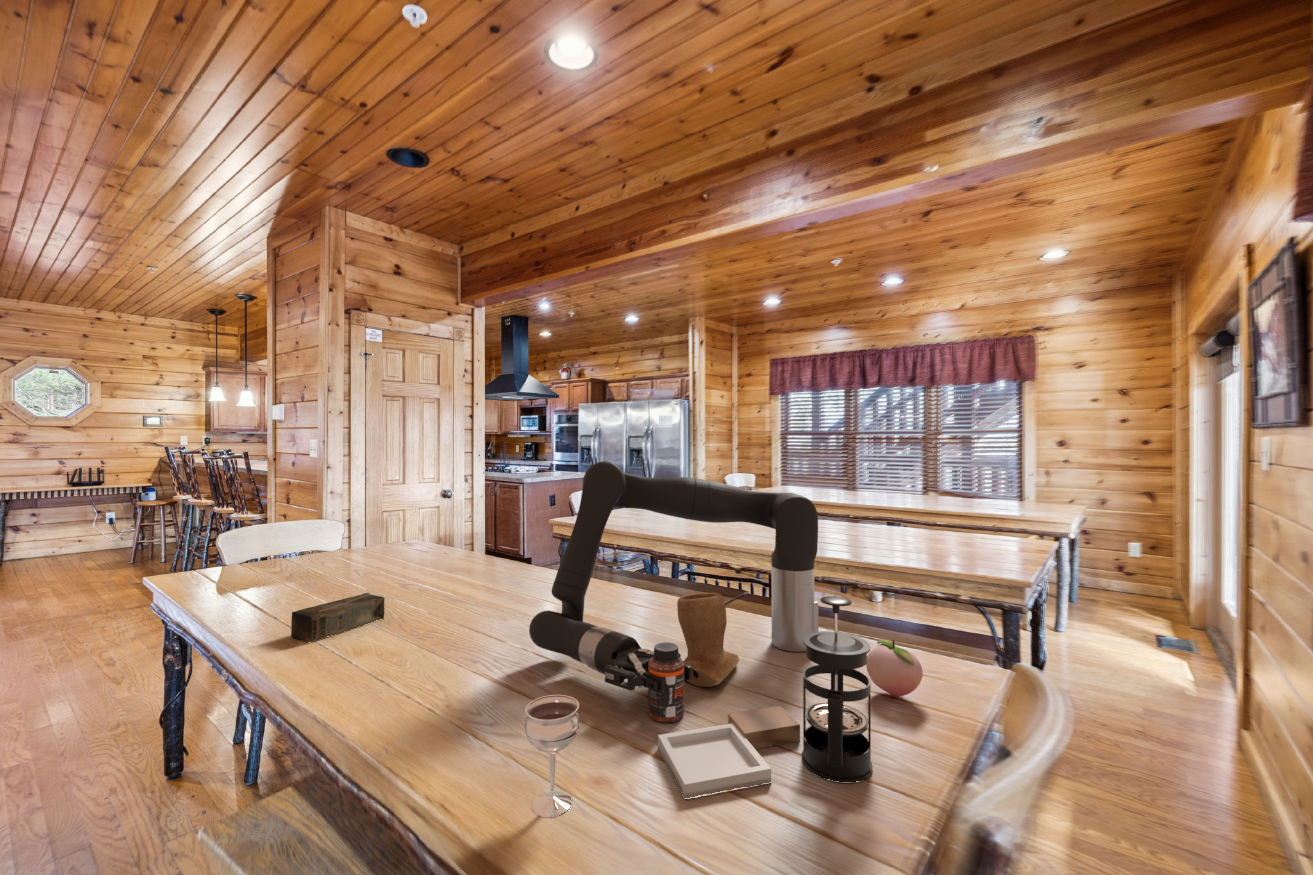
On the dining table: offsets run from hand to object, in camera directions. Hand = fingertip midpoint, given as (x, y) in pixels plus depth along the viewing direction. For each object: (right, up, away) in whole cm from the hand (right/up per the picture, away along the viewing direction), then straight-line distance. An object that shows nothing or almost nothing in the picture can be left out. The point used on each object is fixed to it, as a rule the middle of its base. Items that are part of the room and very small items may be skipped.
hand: (677, 679), depth 88 cm
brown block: (+13, -7, -5) cm, 15 cm away
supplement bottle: (-2, -7, +2) cm, 7 cm away
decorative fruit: (+38, -7, +8) cm, 39 cm away
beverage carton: (-80, -7, +44) cm, 91 cm away
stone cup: (+6, -7, +18) cm, 21 cm away
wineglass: (-16, -7, -20) cm, 27 cm away
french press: (+22, -7, -12) cm, 26 cm away
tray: (+4, -7, -12) cm, 15 cm away
